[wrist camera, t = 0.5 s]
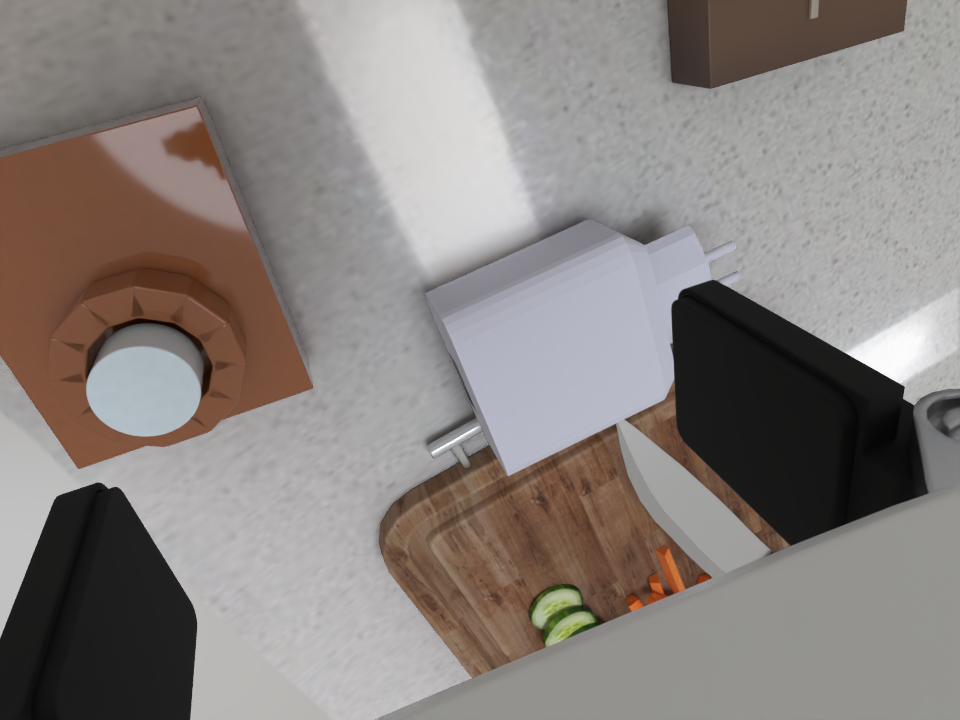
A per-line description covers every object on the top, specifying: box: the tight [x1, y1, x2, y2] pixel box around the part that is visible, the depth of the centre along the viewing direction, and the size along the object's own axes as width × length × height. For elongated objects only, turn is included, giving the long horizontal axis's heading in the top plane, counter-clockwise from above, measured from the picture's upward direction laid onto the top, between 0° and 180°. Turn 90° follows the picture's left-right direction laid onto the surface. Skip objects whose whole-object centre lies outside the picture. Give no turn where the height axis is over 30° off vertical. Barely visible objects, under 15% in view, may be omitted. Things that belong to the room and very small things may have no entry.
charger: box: [424, 219, 742, 476], centre depth 32 cm, size 5×9×15 cm
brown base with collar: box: [0, 97, 313, 469], centre depth 26 cm, size 12×10×5 cm
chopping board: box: [379, 343, 790, 678], centre depth 47 cm, size 45×27×3 cm, turn 24°
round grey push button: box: [86, 323, 204, 437], centre depth 24 cm, size 4×4×2 cm
